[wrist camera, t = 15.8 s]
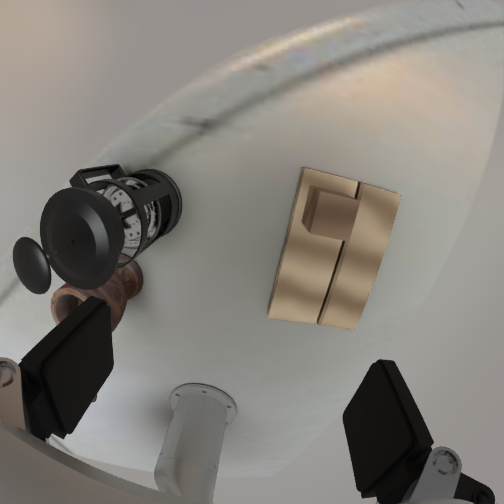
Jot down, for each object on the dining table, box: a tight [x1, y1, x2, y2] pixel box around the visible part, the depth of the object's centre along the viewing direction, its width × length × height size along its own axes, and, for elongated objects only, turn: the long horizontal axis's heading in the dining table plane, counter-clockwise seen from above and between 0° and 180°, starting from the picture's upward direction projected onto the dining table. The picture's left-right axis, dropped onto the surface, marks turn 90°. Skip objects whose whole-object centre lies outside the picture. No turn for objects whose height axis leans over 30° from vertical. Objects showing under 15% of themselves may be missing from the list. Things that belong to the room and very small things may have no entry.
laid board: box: [317, 181, 401, 330], centre depth 37 cm, size 20×6×2 cm, turn 169°
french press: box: [13, 164, 182, 294], centre depth 26 cm, size 12×9×23 cm
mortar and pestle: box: [51, 254, 143, 402], centre depth 31 cm, size 12×9×20 cm
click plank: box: [267, 167, 358, 324], centre depth 36 cm, size 20×7×2 cm, turn 169°
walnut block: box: [301, 185, 360, 242], centre depth 31 cm, size 4×4×5 cm
